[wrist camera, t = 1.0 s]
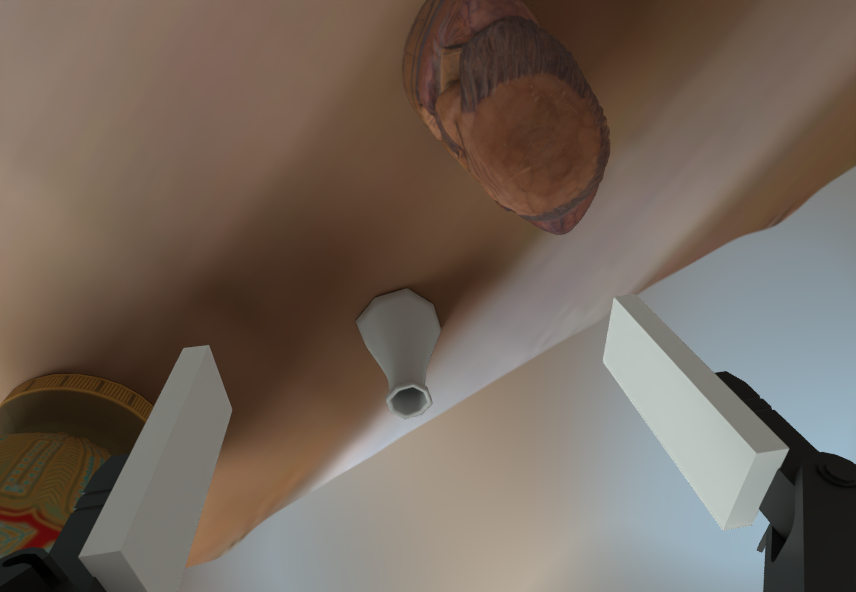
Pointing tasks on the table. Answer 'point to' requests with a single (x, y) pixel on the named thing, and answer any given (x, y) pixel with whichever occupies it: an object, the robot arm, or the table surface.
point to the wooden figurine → (508, 107)
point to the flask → (402, 347)
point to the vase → (58, 450)
